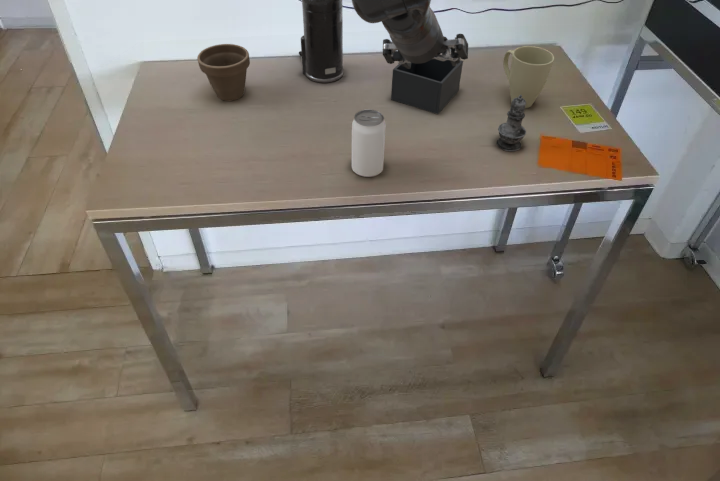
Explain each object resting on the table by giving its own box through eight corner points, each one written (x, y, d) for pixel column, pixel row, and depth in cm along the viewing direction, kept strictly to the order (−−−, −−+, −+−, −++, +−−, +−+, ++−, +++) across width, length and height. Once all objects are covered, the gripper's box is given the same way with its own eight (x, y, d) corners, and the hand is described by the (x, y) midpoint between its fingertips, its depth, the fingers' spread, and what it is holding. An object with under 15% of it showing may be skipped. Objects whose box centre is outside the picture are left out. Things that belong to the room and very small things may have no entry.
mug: (543, 95, 135) (556, 47, 127) (538, 116, 129) (552, 67, 120) (498, 86, 138) (507, 40, 129) (491, 107, 131) (501, 59, 123)
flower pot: (195, 100, 131) (186, 60, 124) (221, 78, 138) (214, 39, 131) (238, 111, 128) (231, 71, 121) (262, 88, 136) (257, 48, 128)
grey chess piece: (491, 136, 123) (502, 87, 114) (518, 135, 123) (530, 86, 115) (498, 152, 118) (510, 102, 110) (526, 151, 119) (539, 101, 110)
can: (380, 180, 111) (383, 128, 103) (348, 175, 112) (348, 124, 104) (385, 161, 116) (388, 110, 107) (355, 156, 117) (355, 106, 108)
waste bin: (390, 99, 133) (392, 69, 127) (413, 77, 140) (416, 48, 135) (438, 114, 129) (442, 83, 123) (458, 90, 136) (463, 60, 131)
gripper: (461, 3, 86) (471, 39, 102) (372, 11, 90) (394, 44, 106) (460, 52, 86) (470, 80, 102) (370, 58, 90) (393, 84, 106)
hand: (431, 62), depth 104 cm, fingers open, 8 cm apart
